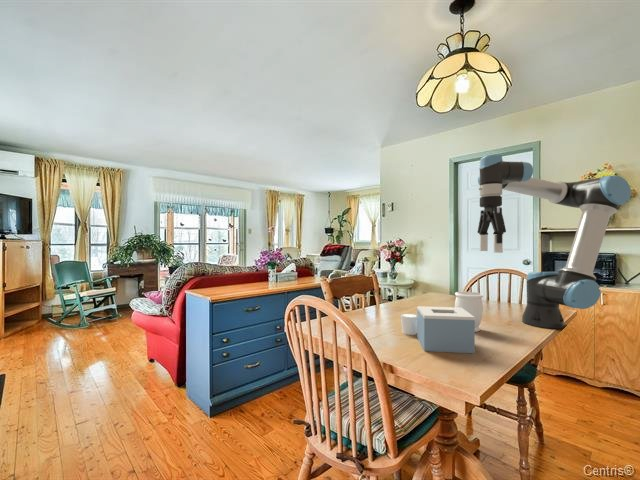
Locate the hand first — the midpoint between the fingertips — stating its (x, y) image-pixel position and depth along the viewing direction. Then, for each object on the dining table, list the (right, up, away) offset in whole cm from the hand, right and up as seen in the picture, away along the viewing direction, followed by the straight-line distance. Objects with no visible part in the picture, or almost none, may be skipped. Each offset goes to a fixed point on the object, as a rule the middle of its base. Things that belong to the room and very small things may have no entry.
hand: (490, 251), depth 119 cm
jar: (-4, -33, +10) cm, 34 cm away
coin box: (-21, -33, -9) cm, 40 cm away
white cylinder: (-30, -33, +5) cm, 45 cm away
